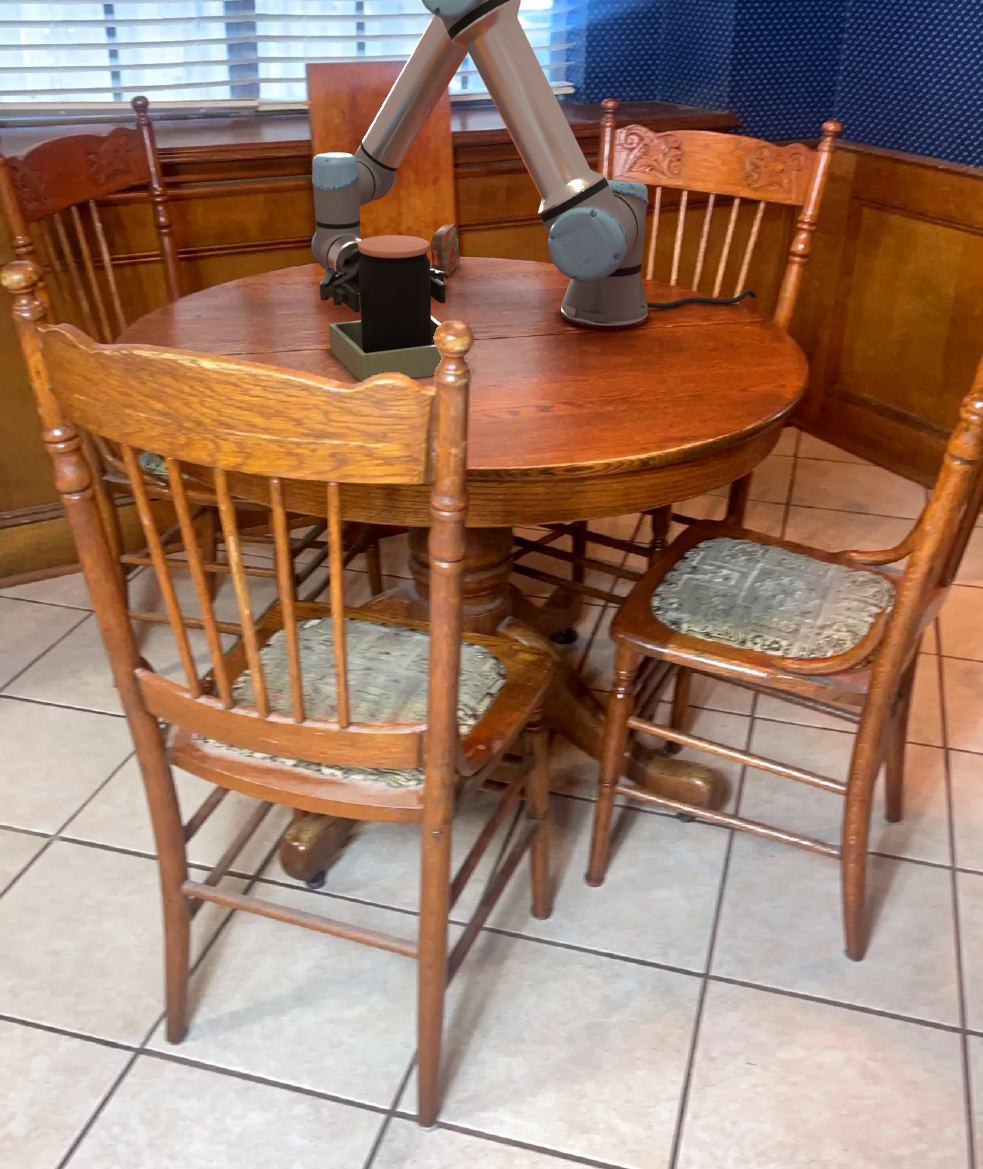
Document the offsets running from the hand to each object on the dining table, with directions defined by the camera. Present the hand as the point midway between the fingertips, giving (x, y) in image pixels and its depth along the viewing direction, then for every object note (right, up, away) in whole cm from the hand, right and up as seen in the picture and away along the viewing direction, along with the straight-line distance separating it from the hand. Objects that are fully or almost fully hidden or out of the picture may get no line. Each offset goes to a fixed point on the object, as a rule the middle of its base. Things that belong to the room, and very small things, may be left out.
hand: (400, 298), depth 155 cm
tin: (+4, +21, +55) cm, 59 cm away
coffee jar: (-1, -8, +8) cm, 11 cm away
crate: (-1, -8, +7) cm, 11 cm away
